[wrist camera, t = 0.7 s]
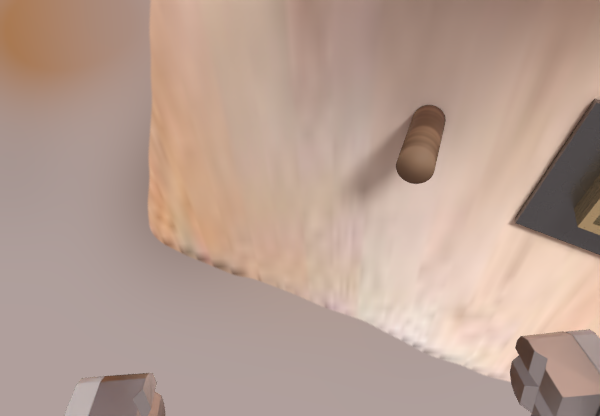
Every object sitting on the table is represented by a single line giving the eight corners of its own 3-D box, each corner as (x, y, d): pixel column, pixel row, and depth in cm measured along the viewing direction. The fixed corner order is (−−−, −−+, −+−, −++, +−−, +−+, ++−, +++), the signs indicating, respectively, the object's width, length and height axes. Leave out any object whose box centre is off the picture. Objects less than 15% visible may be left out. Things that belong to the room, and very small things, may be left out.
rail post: (419, 100, 53) (403, 145, 45) (450, 111, 53) (440, 158, 44) (408, 128, 56) (391, 175, 47) (437, 139, 55) (426, 188, 47)
